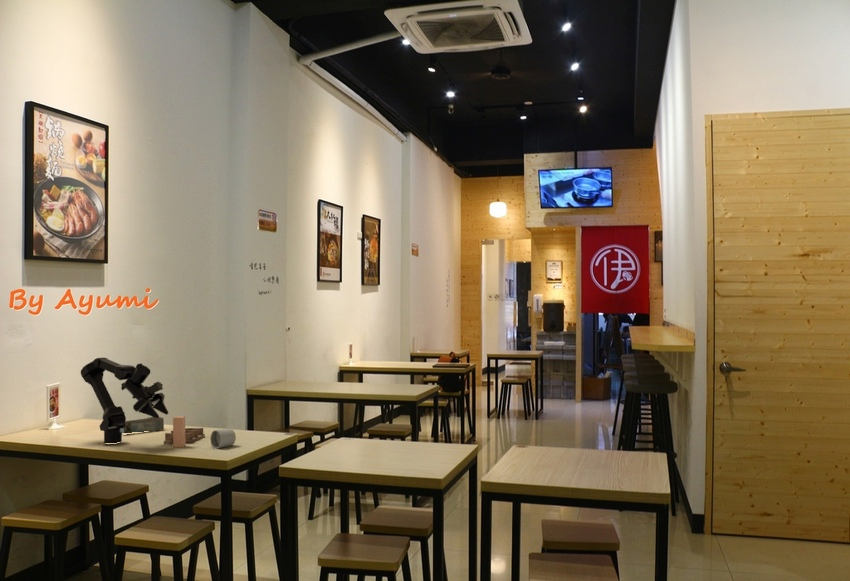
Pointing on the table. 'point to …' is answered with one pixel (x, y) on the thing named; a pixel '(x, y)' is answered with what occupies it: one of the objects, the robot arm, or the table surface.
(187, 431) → the slotted wooden tray
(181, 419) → the clay slab
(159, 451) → the table surface
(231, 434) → the grey cup
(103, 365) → the robot arm
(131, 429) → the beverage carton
